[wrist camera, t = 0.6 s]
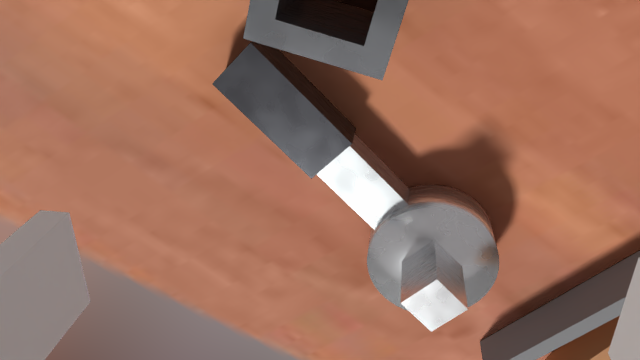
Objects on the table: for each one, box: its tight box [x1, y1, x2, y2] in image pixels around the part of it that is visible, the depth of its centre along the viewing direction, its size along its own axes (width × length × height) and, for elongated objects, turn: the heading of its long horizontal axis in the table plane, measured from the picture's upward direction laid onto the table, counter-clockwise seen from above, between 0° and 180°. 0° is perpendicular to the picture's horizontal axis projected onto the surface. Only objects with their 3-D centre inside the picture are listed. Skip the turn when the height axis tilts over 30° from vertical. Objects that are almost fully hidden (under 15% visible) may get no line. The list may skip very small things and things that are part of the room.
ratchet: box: [213, 41, 499, 331], centre depth 32 cm, size 21×8×7 cm, turn 45°
